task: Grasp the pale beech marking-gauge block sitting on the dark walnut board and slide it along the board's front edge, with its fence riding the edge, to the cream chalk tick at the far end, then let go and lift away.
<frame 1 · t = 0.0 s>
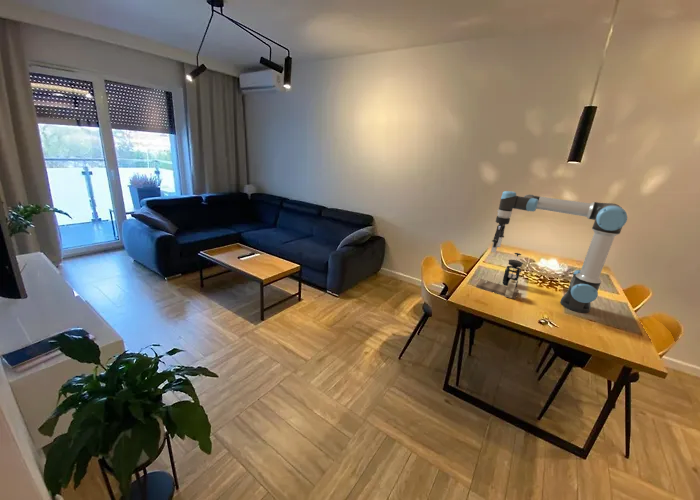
hand: (495, 249, 193), 28 cm above the table, fingers open, 13 cm apart
french press: (509, 284, 212), on the table
board: (496, 289, 202), on the table
gauge: (508, 295, 195), on the table, touching board
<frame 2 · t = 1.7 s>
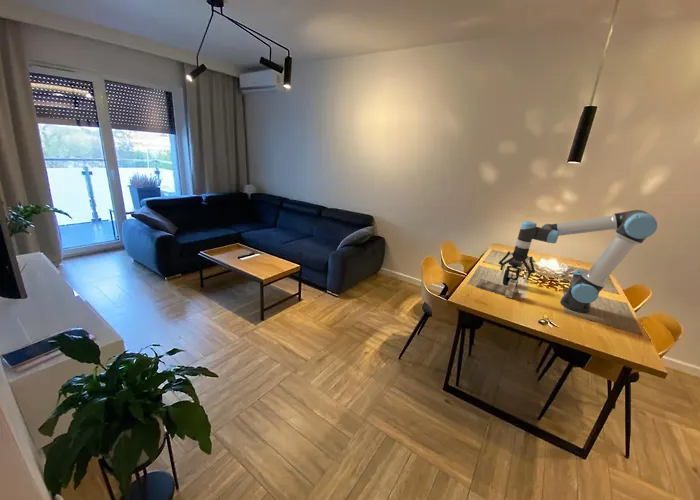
hand: (513, 278, 191), 12 cm above the table, fingers open, 13 cm apart
nothing on the table moved.
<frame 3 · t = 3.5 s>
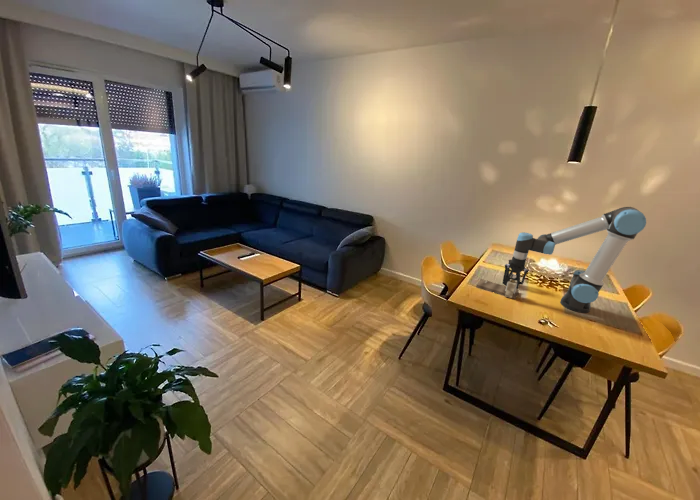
hand: (510, 291, 194), 3 cm above the table, fingers closed on gauge, 4 cm apart
gauge: (508, 295, 195), on the table, touching board, gripper
everything else where it was.
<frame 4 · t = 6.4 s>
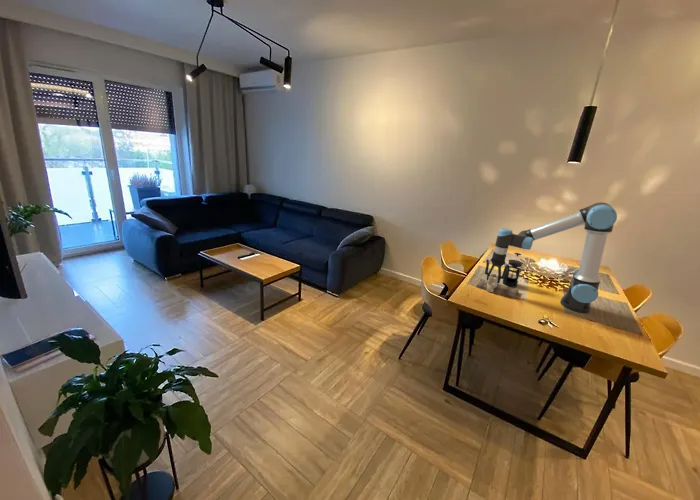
hand: (491, 285, 200), 3 cm above the table, fingers closed on gauge, 4 cm apart
gauge: (490, 290, 201), on the table, touching gripper
everything else where it was.
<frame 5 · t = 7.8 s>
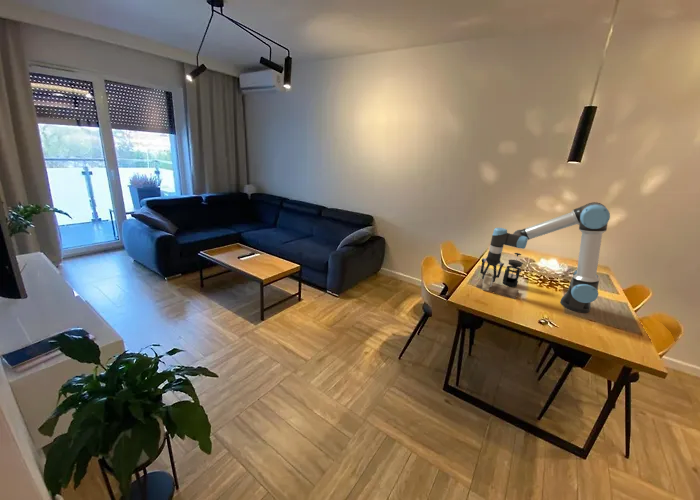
hand: (487, 284, 201), 3 cm above the table, fingers closed on gauge, 4 cm apart
gauge: (486, 289, 202), on the table, touching board, gripper
everything else where it was.
when the fingers open (3 cm above the table, at t = 8.2 s): gauge stays where it is, resting on board.
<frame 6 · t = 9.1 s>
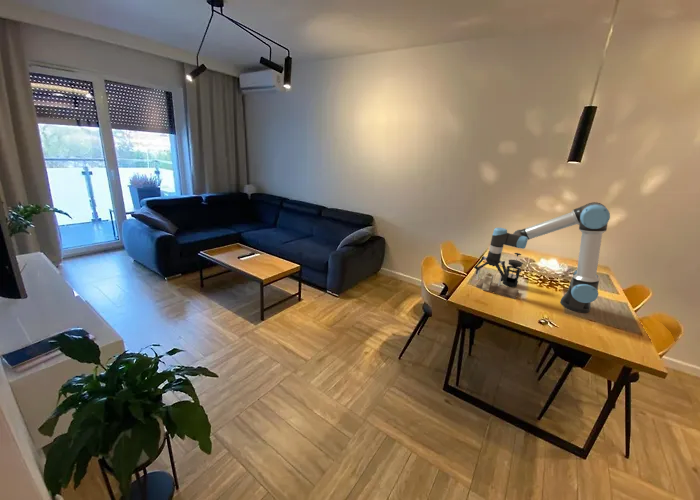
hand: (487, 282, 200), 5 cm above the table, fingers open, 13 cm apart
gauge: (486, 289, 202), resting on board
everything else where it was.
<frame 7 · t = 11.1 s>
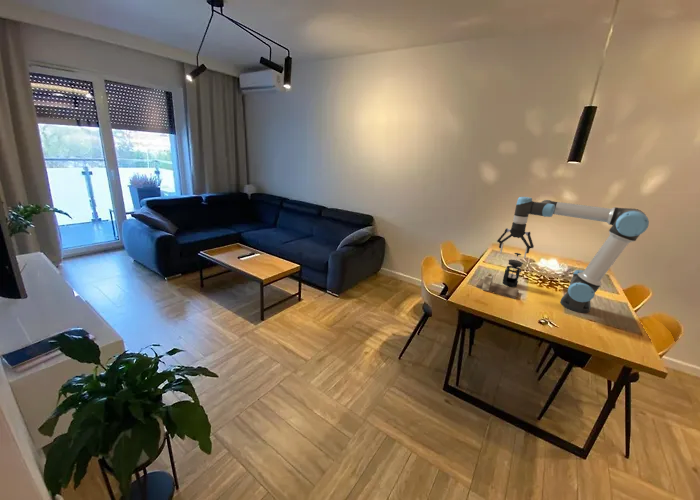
hand: (512, 255, 191), 26 cm above the table, fingers open, 13 cm apart
nothing on the table moved.
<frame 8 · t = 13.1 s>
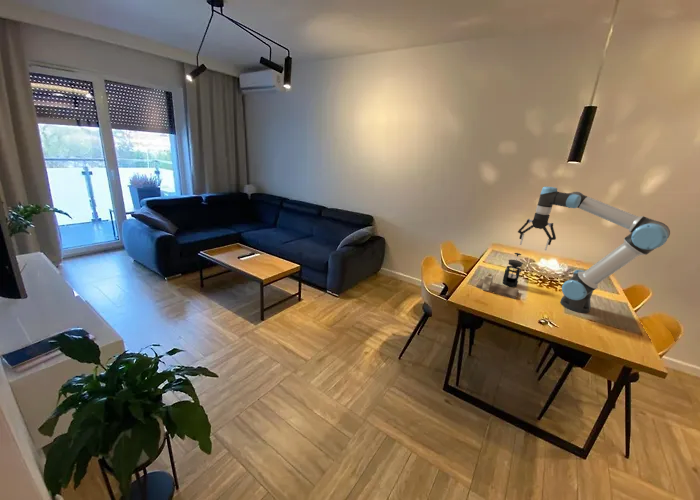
hand: (532, 247, 187), 33 cm above the table, fingers open, 13 cm apart
nothing on the table moved.
at the end: gauge 0.1 cm from the target spot, on the table; gauge tilted 0°; the gripper is holding nothing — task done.
